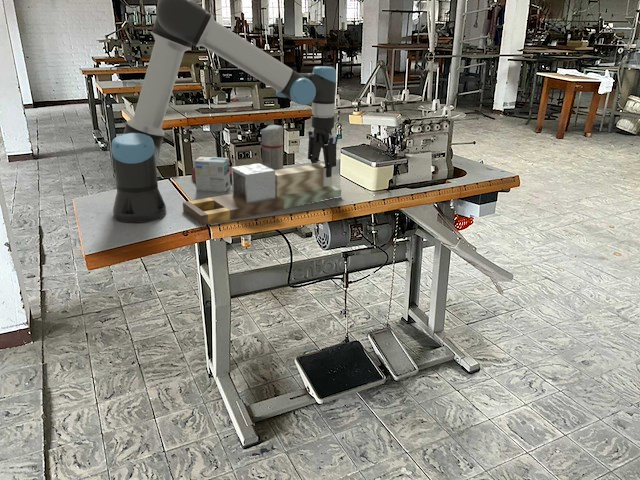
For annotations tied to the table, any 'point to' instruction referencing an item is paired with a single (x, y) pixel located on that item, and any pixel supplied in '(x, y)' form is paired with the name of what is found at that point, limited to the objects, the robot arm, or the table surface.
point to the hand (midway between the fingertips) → (320, 183)
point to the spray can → (272, 147)
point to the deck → (250, 205)
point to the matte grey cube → (253, 183)
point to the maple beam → (299, 179)
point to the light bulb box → (212, 174)
